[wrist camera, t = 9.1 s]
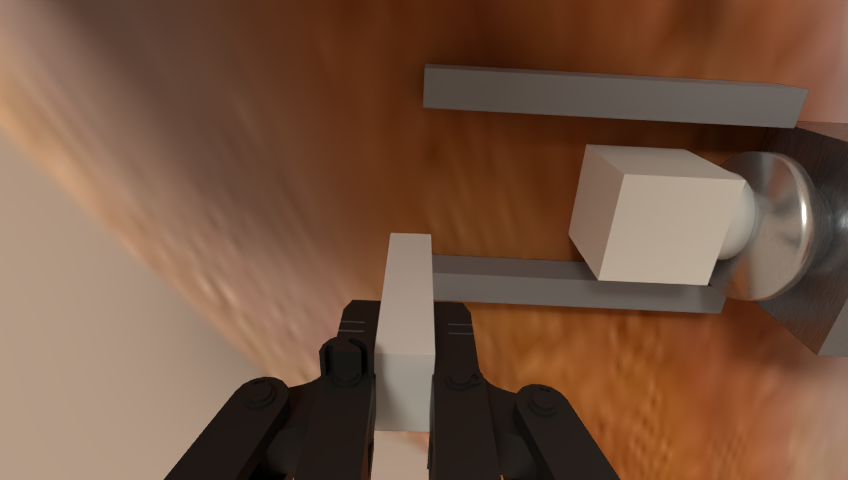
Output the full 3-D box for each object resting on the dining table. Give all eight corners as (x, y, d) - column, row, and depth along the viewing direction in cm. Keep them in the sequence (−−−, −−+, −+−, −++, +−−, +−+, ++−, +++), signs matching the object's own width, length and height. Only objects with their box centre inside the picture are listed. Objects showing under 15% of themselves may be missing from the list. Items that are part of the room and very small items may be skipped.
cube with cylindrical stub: (586, 143, 28) (624, 174, 22) (708, 150, 28) (776, 181, 23) (567, 233, 30) (598, 280, 25) (680, 239, 31) (734, 286, 25)
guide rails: (424, 63, 26) (424, 67, 24) (776, 83, 26) (809, 89, 24) (414, 279, 32) (413, 298, 30) (699, 293, 32) (720, 313, 30)
